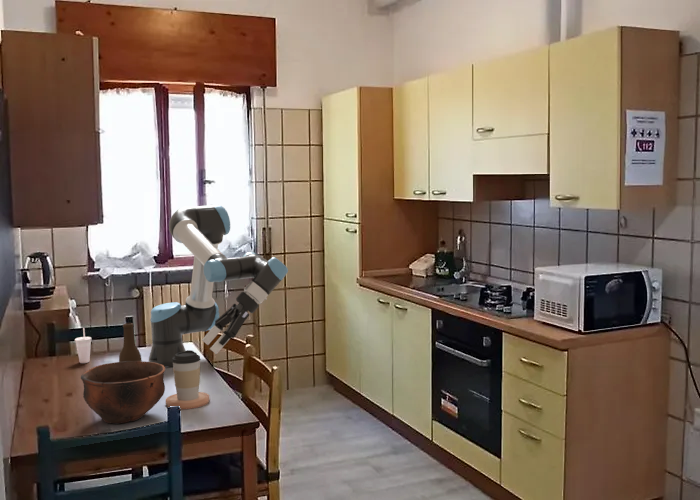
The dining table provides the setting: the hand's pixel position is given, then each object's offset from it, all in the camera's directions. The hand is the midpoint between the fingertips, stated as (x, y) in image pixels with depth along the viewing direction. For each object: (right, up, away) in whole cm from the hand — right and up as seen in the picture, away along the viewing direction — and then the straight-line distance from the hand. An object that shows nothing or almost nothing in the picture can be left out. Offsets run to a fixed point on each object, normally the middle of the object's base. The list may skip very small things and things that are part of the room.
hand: (208, 347), depth 241 cm
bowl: (-23, -20, -14) cm, 34 cm away
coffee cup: (-7, -17, 0) cm, 18 cm away
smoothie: (-61, -14, +56) cm, 84 cm away
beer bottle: (-29, -17, +13) cm, 36 cm away
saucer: (-7, -18, 0) cm, 19 cm away
